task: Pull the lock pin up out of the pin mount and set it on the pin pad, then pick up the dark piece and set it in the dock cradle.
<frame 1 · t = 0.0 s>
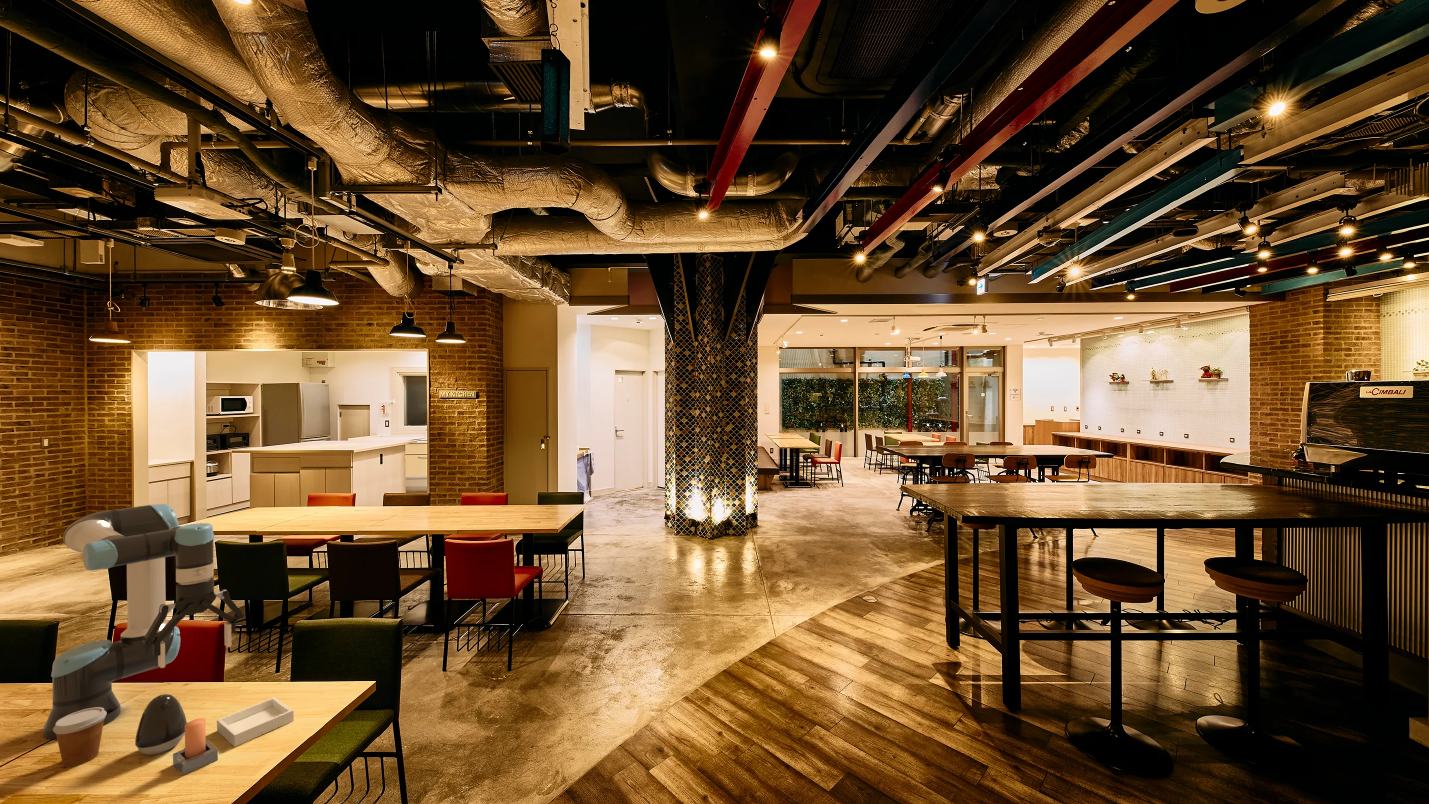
hand: (196, 655, 147), 28 cm above the table, fingers open, 13 cm apart
dark piece: (162, 749, 149), on the table
pin pad: (196, 748, 149), on the table
disposable coffee cup: (81, 759, 145), on the table
lock pin: (195, 742, 144), in the pin mount
pin mount: (195, 762, 144), on the table
dock cradle: (255, 725, 160), on the table
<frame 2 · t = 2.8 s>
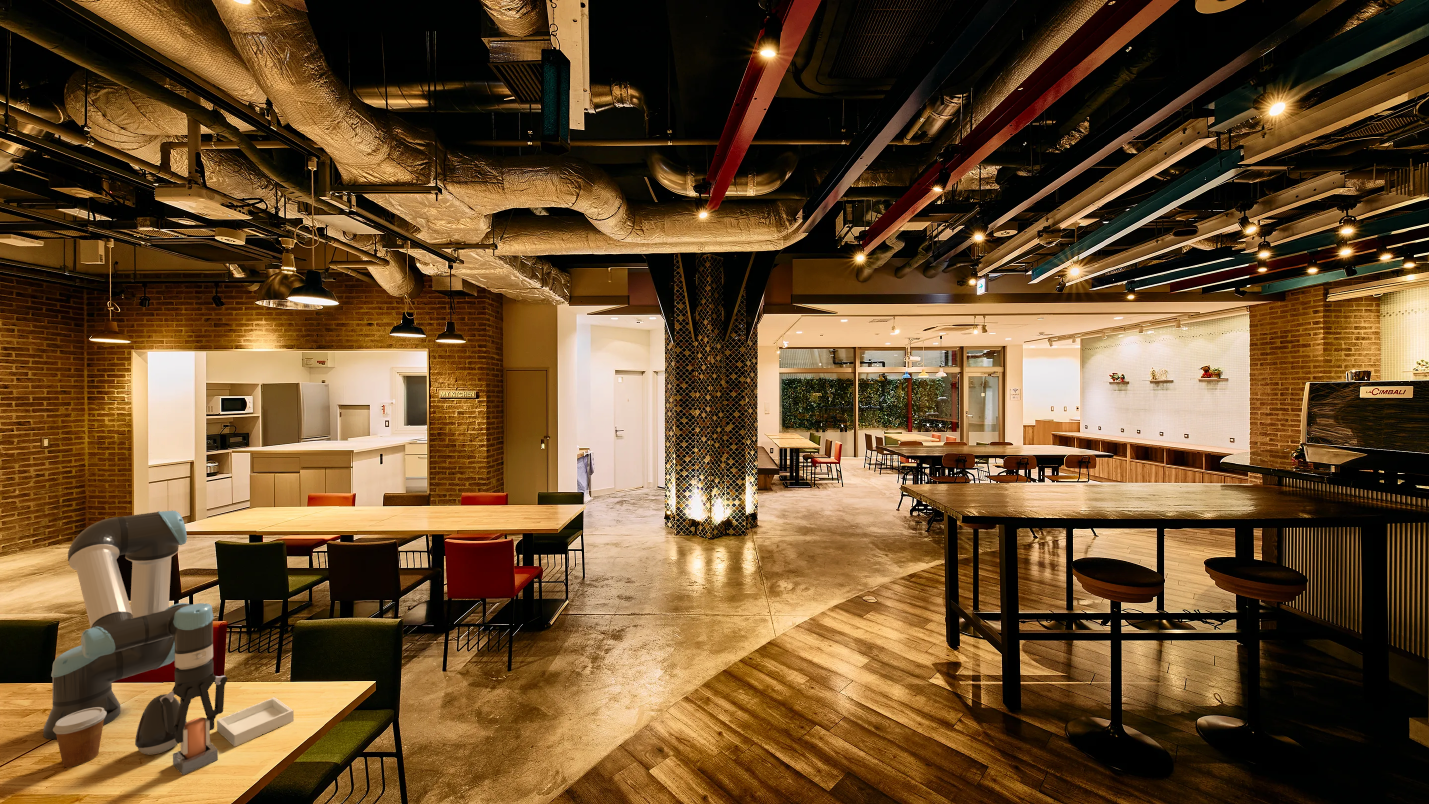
hand: (195, 747, 144), 4 cm above the table, fingers closed on lock pin, 4 cm apart
lock pin: (195, 741, 144), in the pin mount, touching gripper
everything else where it was.
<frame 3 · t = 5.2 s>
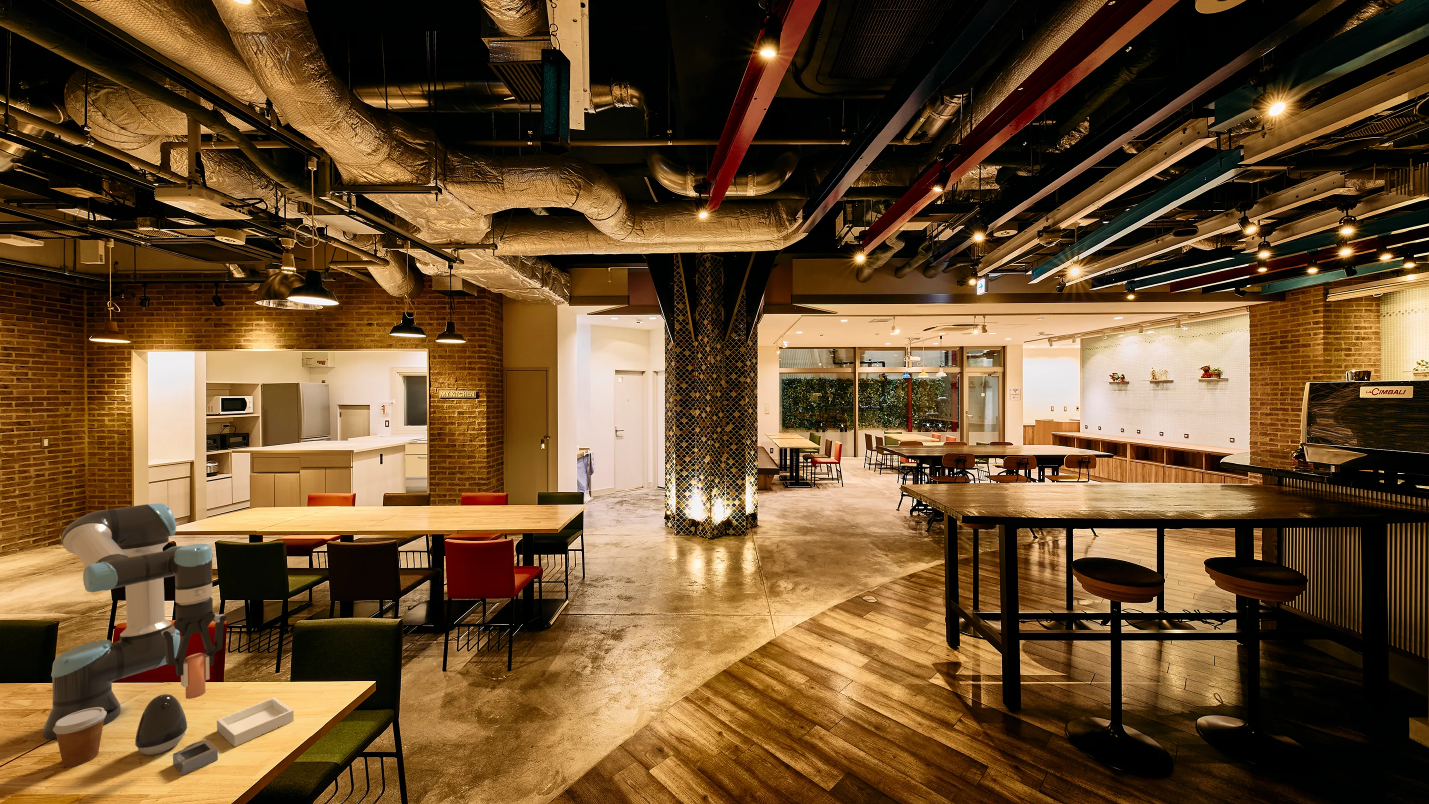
hand: (195, 681, 149), 19 cm above the table, fingers closed on lock pin, 4 cm apart
lock pin: (195, 675, 149), point 21 cm above the table, touching gripper
everything else where it was.
when the fingers open (6 cm above the table, at t = 7.8 s): lock pin drops 2 cm, resting on pin pad.
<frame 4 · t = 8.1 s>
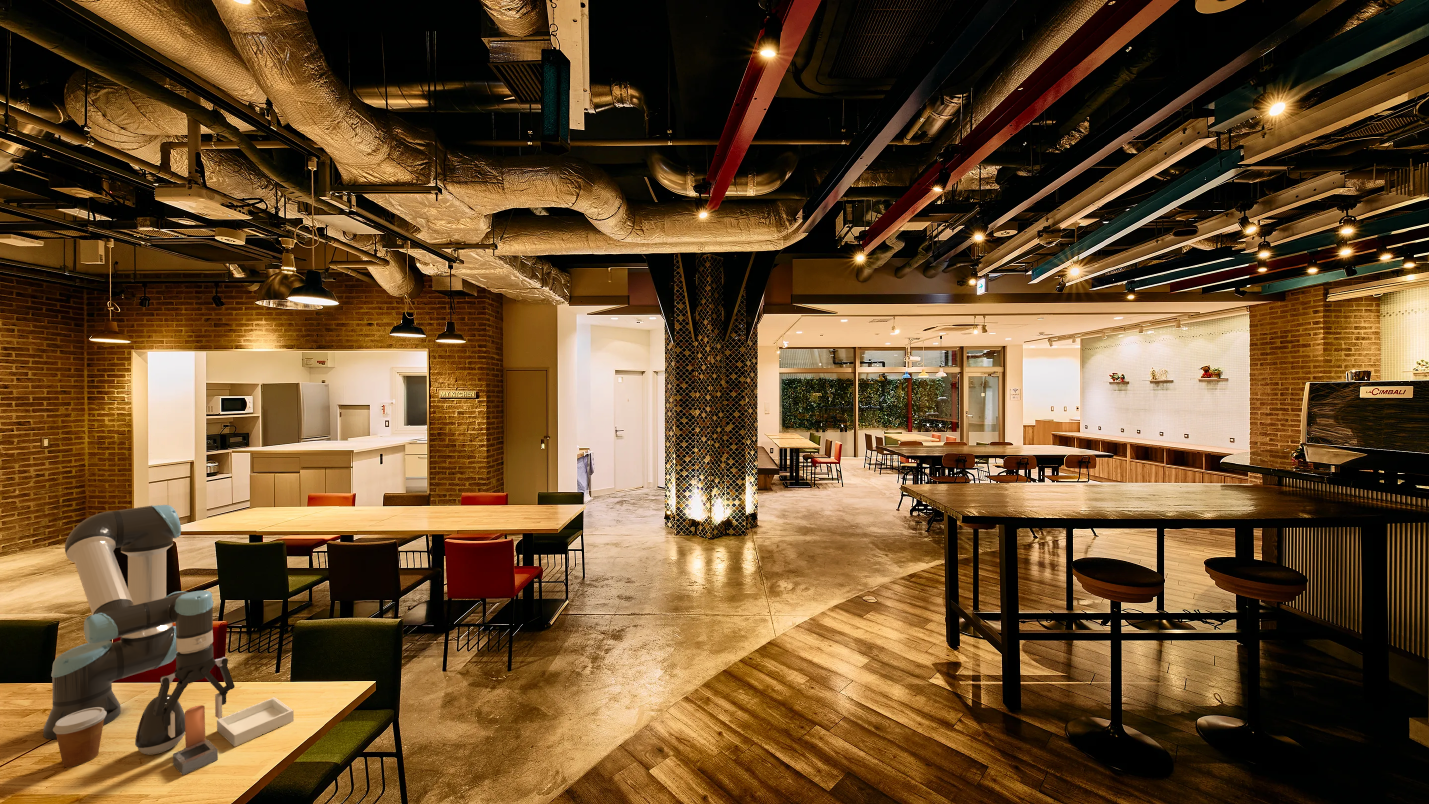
hand: (195, 725, 149), 7 cm above the table, fingers open, 9 cm apart
lock pin: (195, 728, 149), on the pin pad
everything else where it was.
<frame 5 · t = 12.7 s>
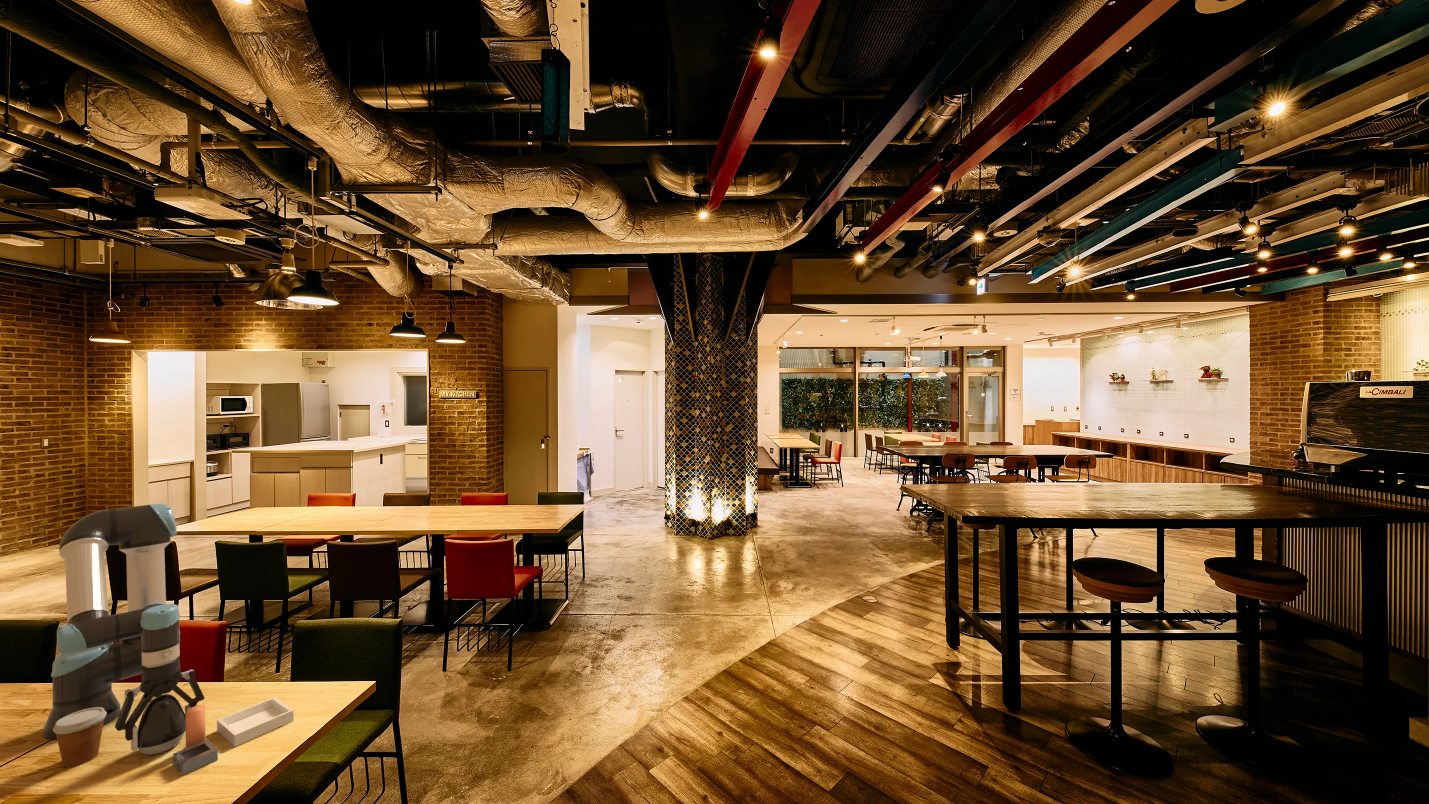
hand: (162, 738, 149), 3 cm above the table, fingers closed on dark piece, 10 cm apart
dark piece: (162, 749, 149), on the table, touching gripper
everything else where it was.
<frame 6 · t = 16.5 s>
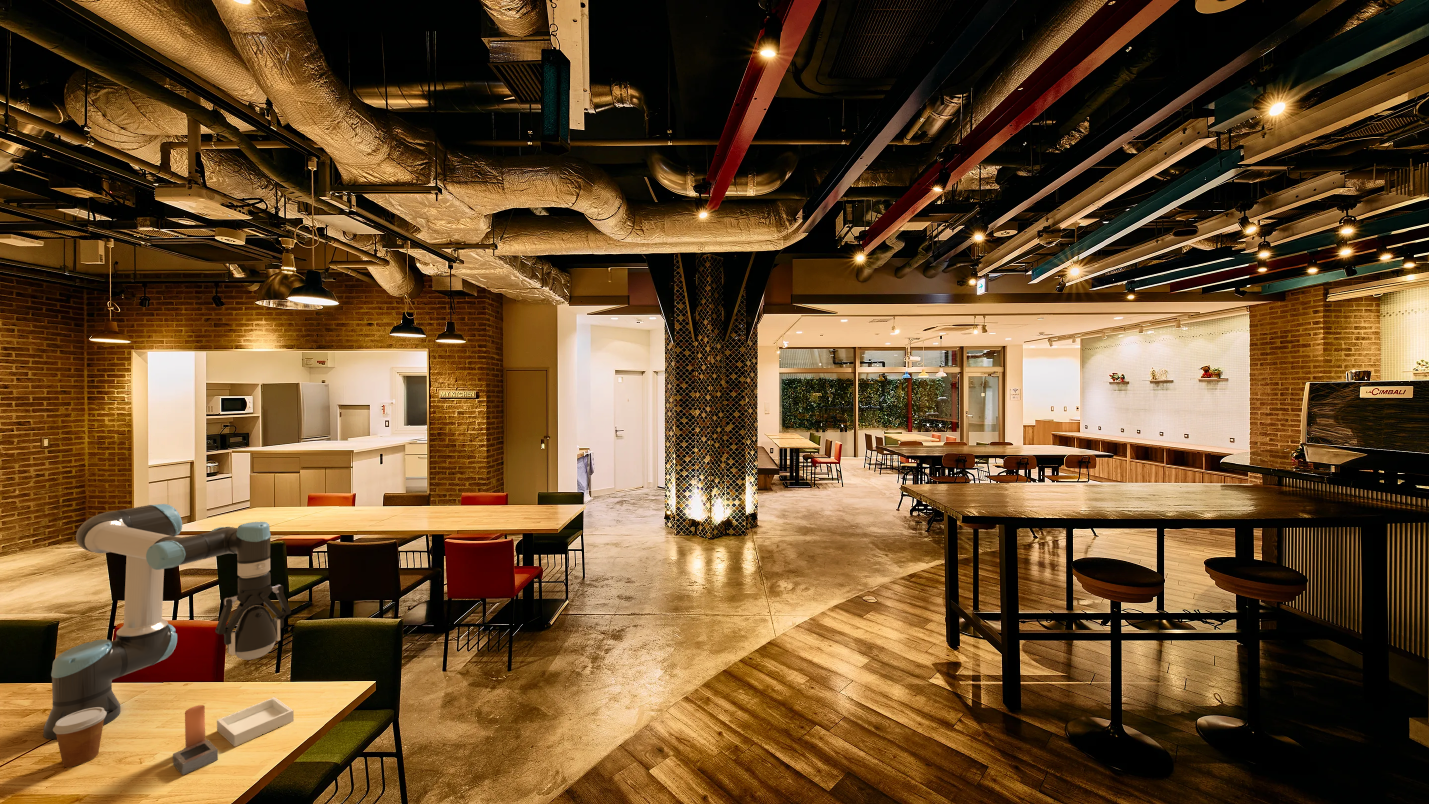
hand: (255, 646, 159), 24 cm above the table, fingers closed on dark piece, 10 cm apart
dark piece: (255, 656, 159), point 21 cm above the table, touching gripper
everything else where it was.
when the fingers open (6 cm above the table, at t = 20.3 s): dark piece drops 2 cm, resting on dock cradle.
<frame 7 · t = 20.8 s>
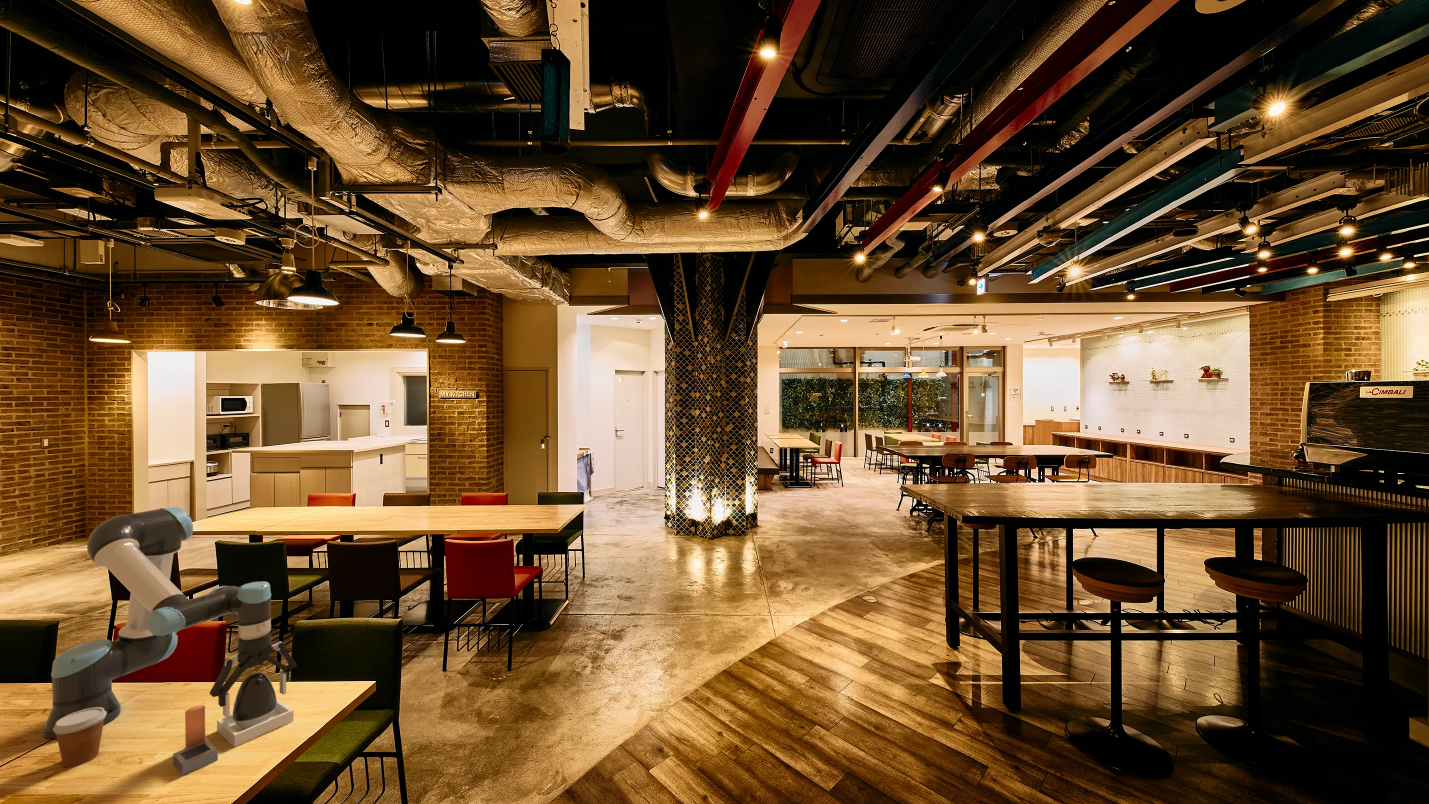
hand: (255, 703, 160), 7 cm above the table, fingers open, 13 cm apart
dark piece: (255, 723, 160), point 1 cm above the table, touching dock cradle
everything else where it was.
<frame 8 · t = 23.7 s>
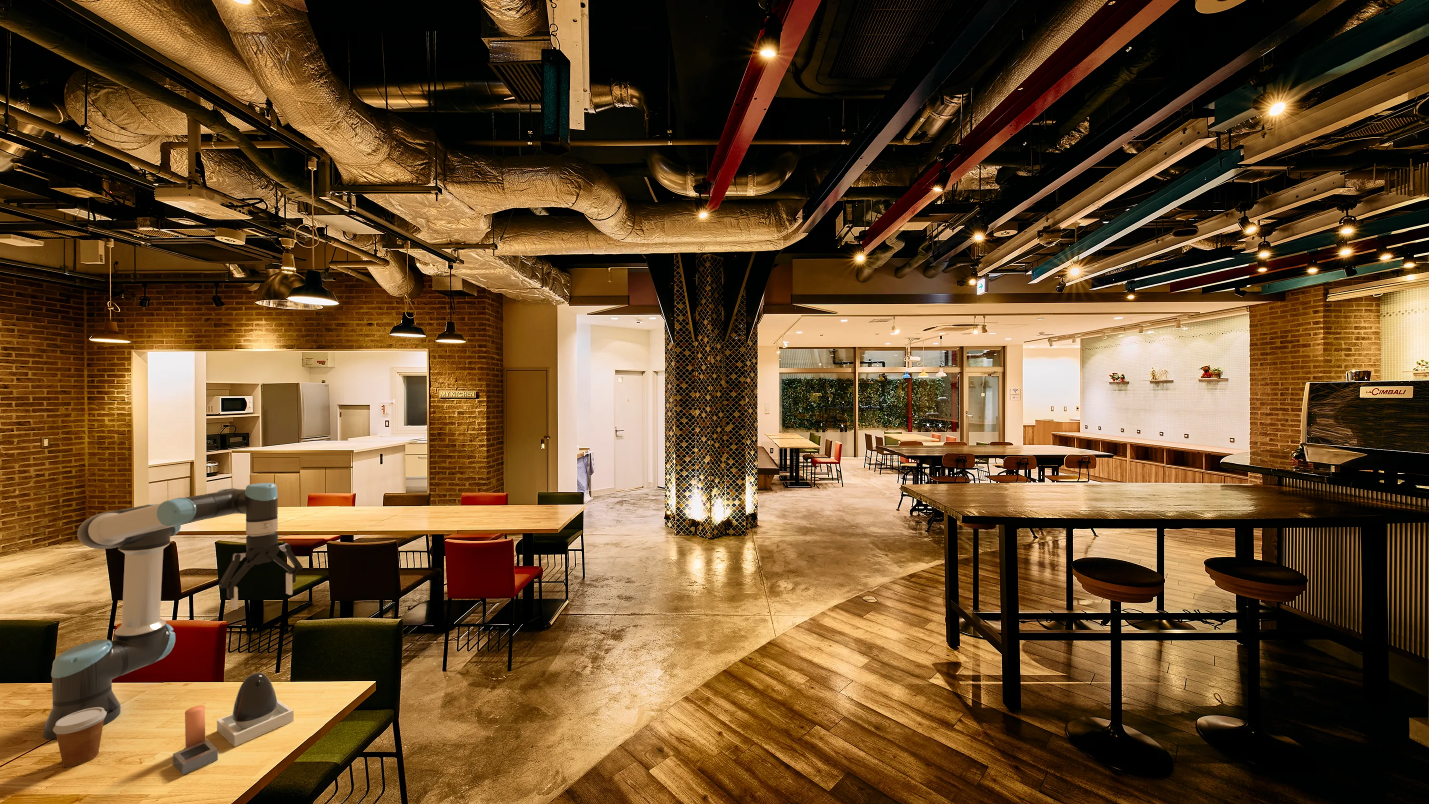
hand: (262, 601, 163), 37 cm above the table, fingers open, 13 cm apart
nothing on the table moved.
at the end: dark piece inside the target area on the dock cradle (0.1 cm from its centre), point 0.6 cm above the dock cradle's base; dark piece tilted 0°; lock pin moved 7.7 cm from its start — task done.
